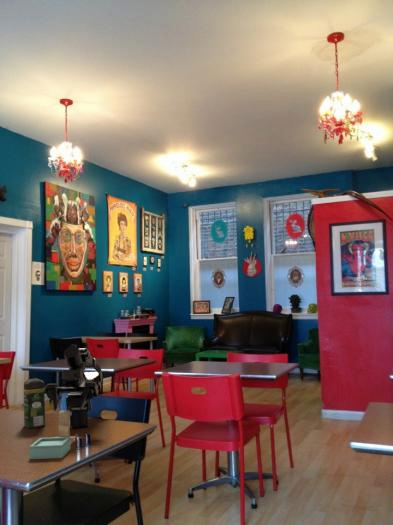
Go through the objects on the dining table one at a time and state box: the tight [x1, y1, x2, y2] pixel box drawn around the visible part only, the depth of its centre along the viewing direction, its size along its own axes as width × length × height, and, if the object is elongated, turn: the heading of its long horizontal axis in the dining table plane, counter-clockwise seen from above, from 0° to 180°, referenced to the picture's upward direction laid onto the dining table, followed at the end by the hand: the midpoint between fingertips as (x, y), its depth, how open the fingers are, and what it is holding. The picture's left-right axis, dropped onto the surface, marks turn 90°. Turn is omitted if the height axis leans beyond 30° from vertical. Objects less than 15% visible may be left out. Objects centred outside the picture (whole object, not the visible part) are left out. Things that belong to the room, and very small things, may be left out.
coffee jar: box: [23, 378, 46, 429], centre depth 196 cm, size 10×8×19 cm
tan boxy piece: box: [58, 409, 77, 445], centre depth 168 cm, size 7×7×10 cm
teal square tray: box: [29, 436, 72, 460], centre depth 154 cm, size 10×10×4 cm
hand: (67, 409), depth 175 cm, fingers open, 9 cm apart
